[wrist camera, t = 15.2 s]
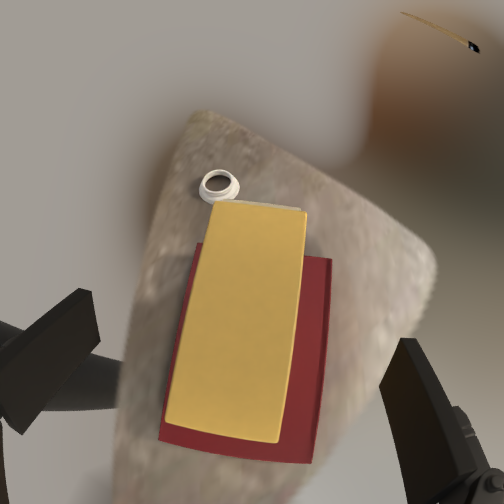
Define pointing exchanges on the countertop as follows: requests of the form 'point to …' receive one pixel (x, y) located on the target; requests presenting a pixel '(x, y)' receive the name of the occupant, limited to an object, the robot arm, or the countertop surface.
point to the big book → (299, 385)
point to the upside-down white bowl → (220, 195)
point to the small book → (240, 323)
